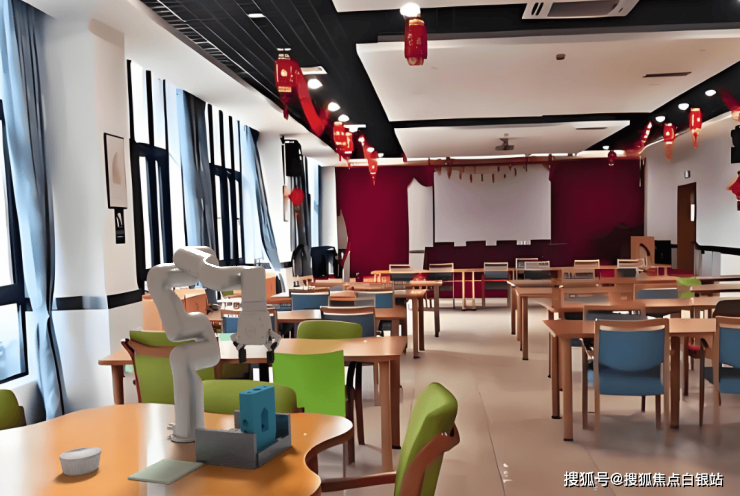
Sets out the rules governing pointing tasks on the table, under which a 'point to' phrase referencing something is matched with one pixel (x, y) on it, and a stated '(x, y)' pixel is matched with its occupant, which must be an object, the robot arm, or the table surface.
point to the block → (258, 413)
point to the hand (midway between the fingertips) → (256, 363)
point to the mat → (165, 471)
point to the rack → (240, 445)
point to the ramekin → (80, 461)
